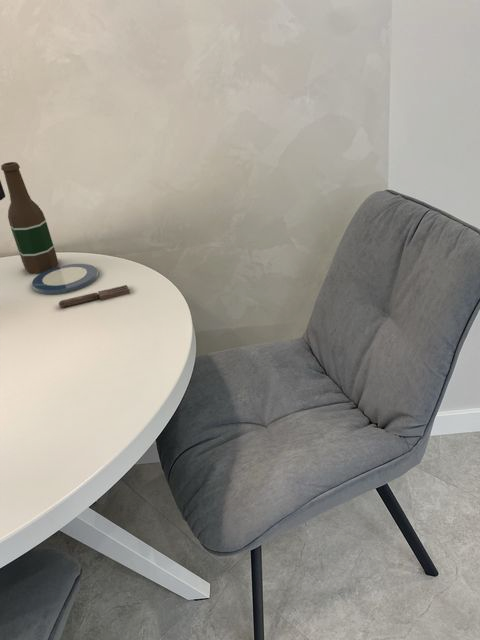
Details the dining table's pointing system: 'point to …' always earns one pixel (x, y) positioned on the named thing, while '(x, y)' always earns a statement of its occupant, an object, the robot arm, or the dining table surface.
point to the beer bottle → (28, 225)
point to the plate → (65, 279)
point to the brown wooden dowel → (96, 296)
